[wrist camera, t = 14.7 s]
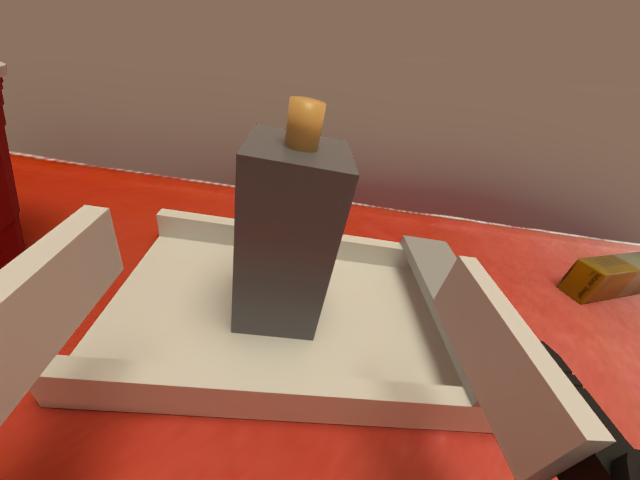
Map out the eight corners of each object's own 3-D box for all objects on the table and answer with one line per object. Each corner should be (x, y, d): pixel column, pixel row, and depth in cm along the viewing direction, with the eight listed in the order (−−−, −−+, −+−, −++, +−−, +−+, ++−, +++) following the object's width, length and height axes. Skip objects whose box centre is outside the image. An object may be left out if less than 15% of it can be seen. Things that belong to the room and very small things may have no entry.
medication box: (618, 277, 35) (644, 249, 32) (645, 293, 33) (675, 265, 30) (552, 287, 30) (578, 256, 28) (579, 307, 28) (608, 275, 26)
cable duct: (40, 407, 13) (11, 363, 11) (165, 235, 25) (160, 199, 23) (515, 434, 16) (553, 403, 15) (430, 270, 28) (445, 241, 26)
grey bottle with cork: (230, 332, 18) (238, 99, 10) (246, 276, 22) (258, 81, 15) (313, 340, 18) (373, 125, 11) (312, 284, 22) (356, 101, 15)
